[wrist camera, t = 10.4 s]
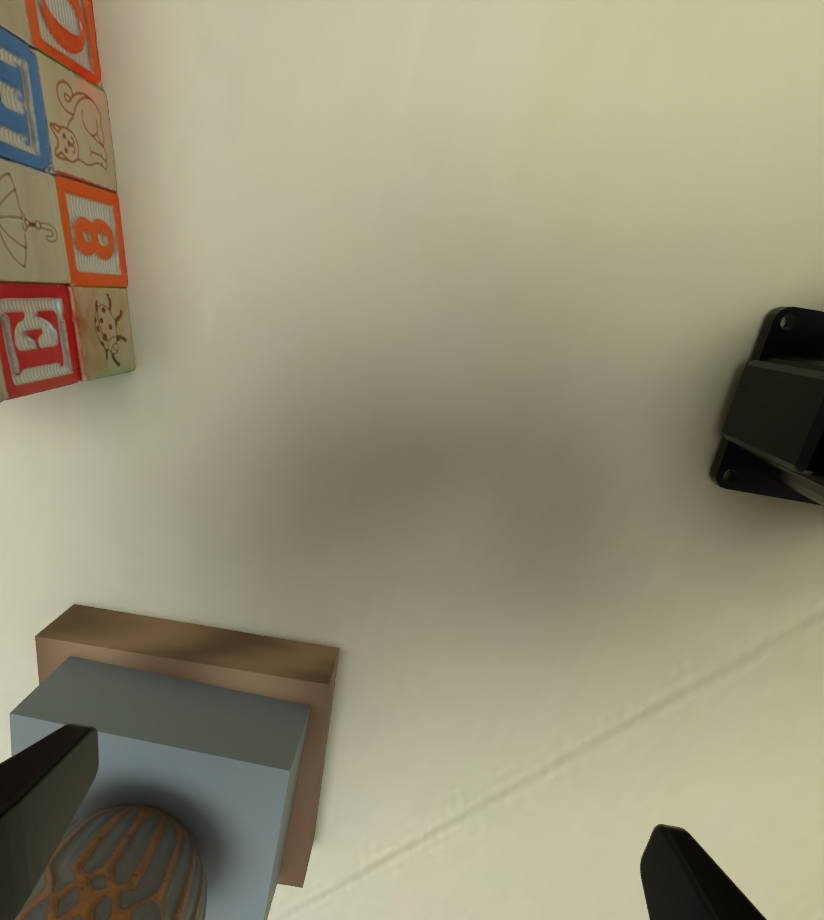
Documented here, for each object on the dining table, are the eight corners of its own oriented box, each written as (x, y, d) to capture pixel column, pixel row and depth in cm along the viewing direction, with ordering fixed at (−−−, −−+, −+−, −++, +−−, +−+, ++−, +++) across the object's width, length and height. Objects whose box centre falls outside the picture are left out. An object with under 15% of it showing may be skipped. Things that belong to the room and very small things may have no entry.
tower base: (342, 637, 23) (328, 684, 20) (317, 824, 27) (302, 887, 24) (85, 594, 23) (35, 636, 20) (95, 788, 27) (53, 846, 24)
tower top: (310, 705, 20) (290, 771, 18) (280, 871, 23) (258, 950, 21) (69, 655, 20) (9, 713, 17) (70, 829, 23) (18, 902, 20)
